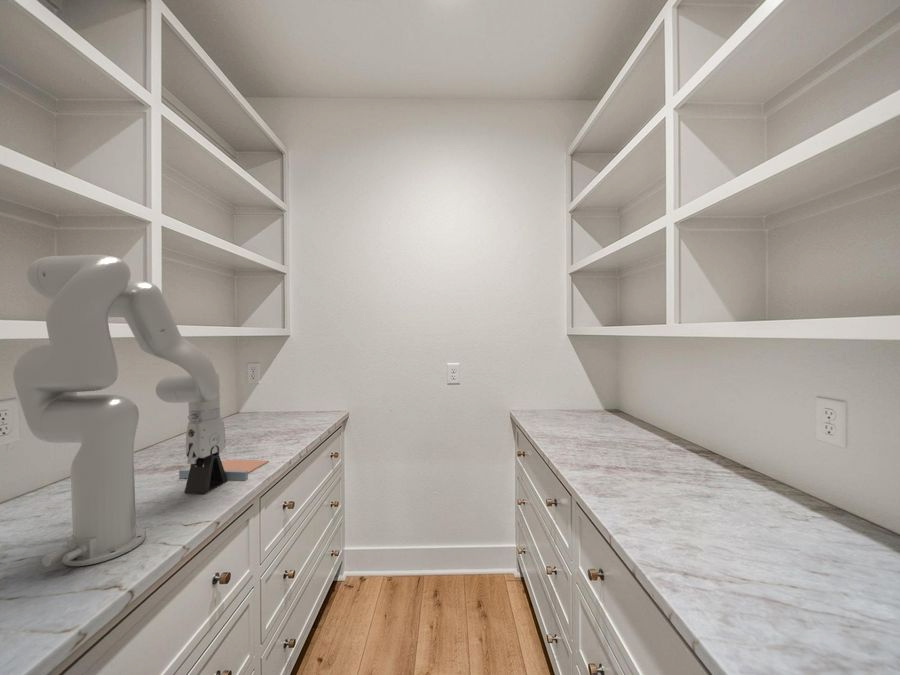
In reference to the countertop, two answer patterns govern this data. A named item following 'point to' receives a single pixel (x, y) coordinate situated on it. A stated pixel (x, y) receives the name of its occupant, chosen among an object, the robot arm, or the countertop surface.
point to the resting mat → (242, 465)
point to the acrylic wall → (229, 474)
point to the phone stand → (206, 475)
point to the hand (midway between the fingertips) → (206, 478)
